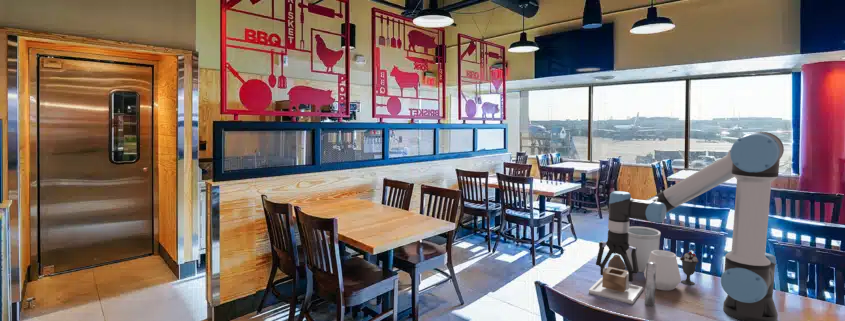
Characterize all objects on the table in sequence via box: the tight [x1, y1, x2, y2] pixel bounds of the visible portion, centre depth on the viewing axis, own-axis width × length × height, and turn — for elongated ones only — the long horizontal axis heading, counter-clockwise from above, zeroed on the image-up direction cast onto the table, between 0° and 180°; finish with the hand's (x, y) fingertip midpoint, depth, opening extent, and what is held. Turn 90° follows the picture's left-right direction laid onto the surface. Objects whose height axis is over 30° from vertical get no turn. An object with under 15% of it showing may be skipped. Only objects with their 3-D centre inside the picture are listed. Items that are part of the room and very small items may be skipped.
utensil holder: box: [625, 226, 662, 273], centre depth 193 cm, size 15×15×18 cm
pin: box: [644, 262, 657, 307], centre depth 155 cm, size 3×3×16 cm
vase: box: [607, 254, 626, 270], centre depth 185 cm, size 7×7×9 cm
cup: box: [643, 249, 682, 291], centre depth 172 cm, size 13×13×14 cm
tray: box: [588, 276, 644, 305], centre depth 167 cm, size 16×16×2 cm
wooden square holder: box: [602, 266, 628, 292], centre depth 167 cm, size 8×8×6 cm
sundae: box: [679, 248, 700, 286], centre depth 175 cm, size 7×7×15 cm
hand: (615, 285), depth 167 cm, fingers closed on wooden square holder, 8 cm apart
